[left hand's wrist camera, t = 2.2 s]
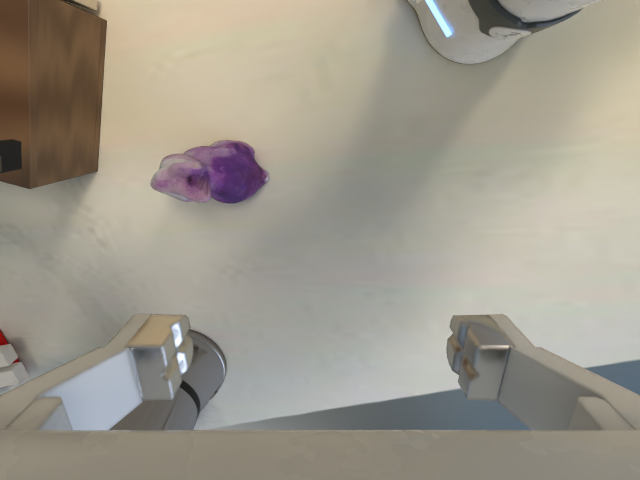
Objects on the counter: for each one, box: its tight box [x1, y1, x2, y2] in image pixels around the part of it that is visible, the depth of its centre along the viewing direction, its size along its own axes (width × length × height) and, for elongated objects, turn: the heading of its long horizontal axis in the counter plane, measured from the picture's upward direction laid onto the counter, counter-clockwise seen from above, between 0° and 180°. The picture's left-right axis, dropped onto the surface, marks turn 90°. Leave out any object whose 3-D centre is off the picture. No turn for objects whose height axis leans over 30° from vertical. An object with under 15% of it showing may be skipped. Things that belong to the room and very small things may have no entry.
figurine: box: [151, 140, 269, 203], centre depth 41 cm, size 9×10×15 cm
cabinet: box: [0, 0, 107, 189], centre depth 39 cm, size 19×11×12 cm, turn 164°
